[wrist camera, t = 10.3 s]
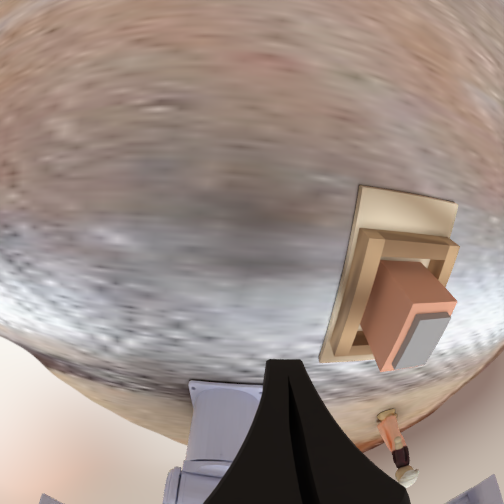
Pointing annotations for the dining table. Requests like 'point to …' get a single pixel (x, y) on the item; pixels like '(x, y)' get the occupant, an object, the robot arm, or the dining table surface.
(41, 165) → the dining table surface
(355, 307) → the frame
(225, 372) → the dining table surface
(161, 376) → the dining table surface
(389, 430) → the grandmother figurine
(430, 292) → the salmon block
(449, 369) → the dining table surface
